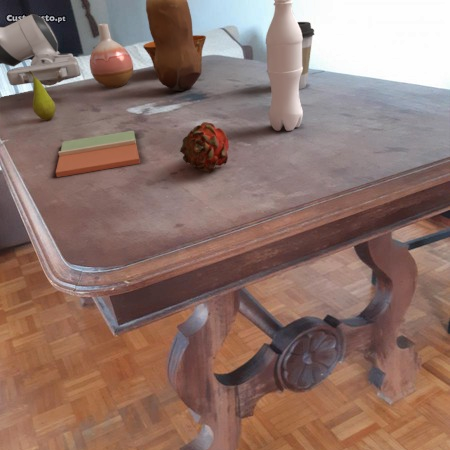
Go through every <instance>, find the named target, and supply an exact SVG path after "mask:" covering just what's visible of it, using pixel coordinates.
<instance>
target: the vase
mask: <svg viewBox="0 0 450 450" xmlns="http://www.w3.org/2000/svg"><path fill="white" fill-rule="evenodd" d="M97 29H98V34H99V39H100V40H99V42H98V43H97V45H96V46H95V47H94V48H93V50H92V52H91V54H90V57H89V70H90V74H91V75H92V77H93V79H94V80H95V81H96V82H97V83H99V84H101V85H102V86H103V87H105V88H109V89H114V88H120V87H123V86H126V85H127V84H128V81H129V80H131V78H132V76H133V73H134V63H133V59H132V57H131V55H130V53H129V51H128V50H127V49H126V48H125V47H124V46H123V45H121V44H120V43H119V42H117V41H115V40H113V39H112V36H111V33H110V28H109V24H108V23H99V24H97Z"/></svg>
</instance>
